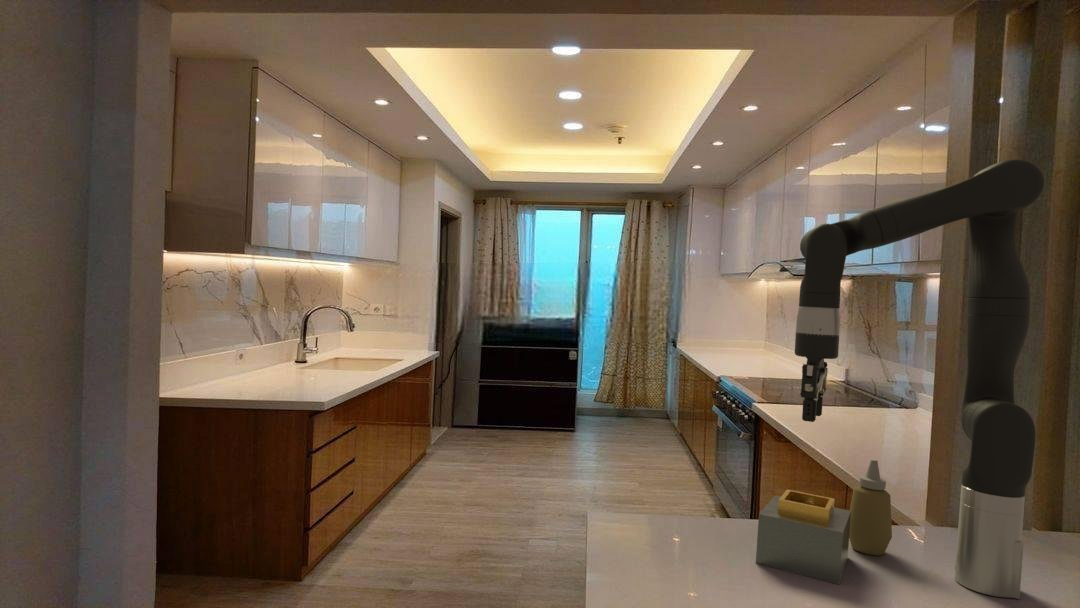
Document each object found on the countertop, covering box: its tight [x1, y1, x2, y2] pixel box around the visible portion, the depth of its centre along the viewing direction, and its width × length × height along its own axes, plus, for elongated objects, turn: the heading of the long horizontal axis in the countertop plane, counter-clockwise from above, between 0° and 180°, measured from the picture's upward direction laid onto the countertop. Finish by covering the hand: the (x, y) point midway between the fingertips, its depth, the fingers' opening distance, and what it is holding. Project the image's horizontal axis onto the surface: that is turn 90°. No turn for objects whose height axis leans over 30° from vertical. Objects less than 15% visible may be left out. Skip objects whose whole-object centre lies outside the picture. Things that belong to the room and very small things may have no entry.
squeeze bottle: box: [849, 459, 893, 556], centre depth 128 cm, size 8×8×18 cm
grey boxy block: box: [755, 489, 851, 585], centre depth 120 cm, size 14×15×12 cm
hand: (812, 418), depth 120 cm, fingers open, 8 cm apart
